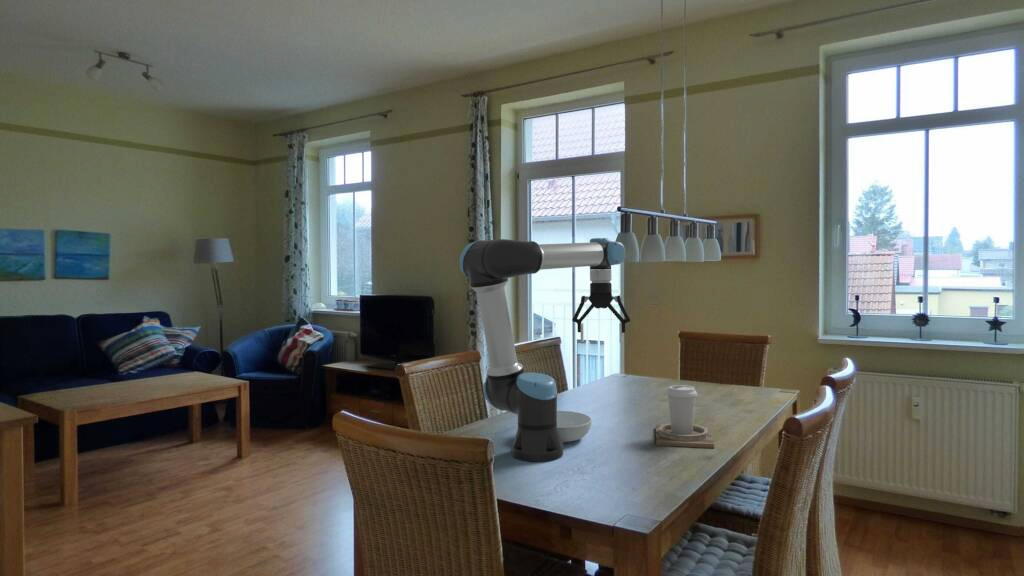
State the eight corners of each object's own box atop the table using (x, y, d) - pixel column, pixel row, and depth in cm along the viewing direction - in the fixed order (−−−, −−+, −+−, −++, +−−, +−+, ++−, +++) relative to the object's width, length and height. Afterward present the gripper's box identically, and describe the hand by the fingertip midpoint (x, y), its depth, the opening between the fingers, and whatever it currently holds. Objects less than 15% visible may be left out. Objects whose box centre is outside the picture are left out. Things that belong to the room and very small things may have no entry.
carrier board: (714, 448, 183) (714, 439, 183) (656, 445, 187) (656, 436, 187) (708, 430, 202) (708, 422, 202) (655, 428, 206) (655, 420, 206)
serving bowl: (538, 451, 183) (538, 429, 182) (519, 433, 203) (519, 413, 203) (602, 445, 188) (602, 423, 188) (577, 428, 208) (577, 408, 208)
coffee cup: (685, 428, 201) (684, 383, 200) (704, 435, 192) (703, 388, 191) (660, 431, 197) (660, 386, 197) (678, 439, 188) (678, 391, 188)
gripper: (637, 281, 214) (637, 341, 215) (567, 282, 220) (567, 340, 221) (636, 281, 207) (637, 343, 208) (564, 282, 213) (564, 342, 213)
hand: (601, 342), depth 214 cm, fingers open, 13 cm apart
